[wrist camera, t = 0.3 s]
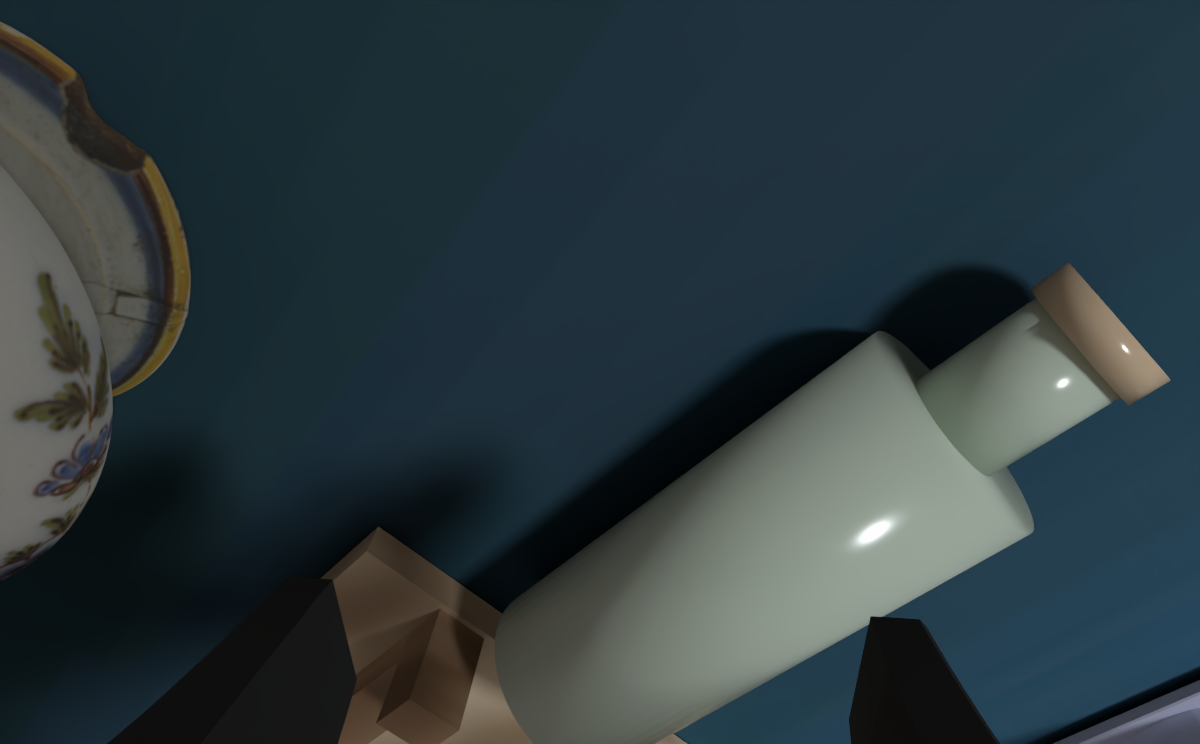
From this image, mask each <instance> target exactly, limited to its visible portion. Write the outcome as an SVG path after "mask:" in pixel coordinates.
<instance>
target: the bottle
mask: <svg viewBox="0 0 1200 744" xmlns="http://www.w3.org/2000/svg"><path fill="white" fill-rule="evenodd" d="M1031 291H1032V293H1033V294H1034V295H1035V297H1036V298H1035V299H1033V300H1032V301H1030V302H1029V303H1027V304H1026V305H1024V306H1023V307H1022V308H1020V309H1019V310H1017V311H1016V312H1014V313H1013V314H1011V315H1010V316H1009V317H1007V318H1006V319H1004V320H1003V321H1001V322H1000V323H998V324H997V325H996V326H994V327H993V328H991V329H990V330H988V331H987V332H985V333H984V334H983V335H981V336H980V337H978V338H977V339H975V340H974V341H972V342H971V343H970V344H968V345H967V346H965V347H964V348H962V349H961V350H959V351H958V352H957V353H955V354H954V355H952V356H951V357H949V358H948V359H947V360H945V361H944V362H942V363H941V364H939V365H938V366H936V367H935V368H934V369H932V370H931V371H930V370H929V369H928V368H927V367H926V366H925V365H924V364H923V363H922V362H921V361H920V360H919V359H918V358H917V357H916V356H915V355H914V354H913V353H912V352H911V351H910V350H909V349H908V348H907V347H906V346H905V345H904V344H903V343H901V342H900V341H899V340H897V339H896V338H895V337H893V336H891V335H890V334H888V333H886V332H883V331H877V332H875V333H874V334H872V335H871V336H870V337H868V338H867V339H866V340H864V341H863V342H862V343H860V344H859V345H858V346H856V347H855V348H854V349H852V350H851V351H850V352H848V353H847V354H845V355H844V356H843V357H841V358H840V359H839V360H837V361H836V362H835V363H833V364H832V365H831V366H829V367H828V368H827V369H825V370H824V371H823V372H821V373H820V374H818V375H817V376H816V377H814V378H813V379H812V380H810V381H809V382H808V383H806V384H805V385H804V386H802V387H801V388H800V389H798V390H797V391H795V392H794V393H793V394H791V395H790V396H789V397H787V398H786V399H785V400H783V401H782V402H781V403H779V404H778V405H777V406H775V407H774V408H773V409H771V410H770V411H768V412H767V413H766V414H764V415H763V416H762V417H760V418H759V419H758V420H756V421H755V422H754V423H752V424H751V425H750V426H748V427H747V428H746V429H744V430H743V431H741V432H740V433H739V434H737V435H736V436H735V437H733V438H732V439H731V440H729V441H728V442H727V443H725V444H724V445H723V446H721V447H720V448H719V449H717V450H716V451H714V452H713V453H712V454H710V455H709V456H708V457H706V458H705V459H704V460H702V461H701V462H700V463H698V464H697V465H696V466H694V467H693V468H692V469H690V470H689V471H687V472H686V473H685V474H683V475H682V476H681V477H679V478H678V479H677V480H675V481H674V482H673V483H671V484H670V485H669V486H667V487H666V488H665V489H663V490H662V491H660V492H659V493H658V494H656V495H655V496H654V497H652V498H651V499H650V500H648V501H647V502H646V503H644V504H643V505H642V506H640V507H639V508H638V509H636V510H635V511H633V512H632V513H631V514H629V515H628V516H627V517H625V518H624V519H623V520H621V521H620V522H619V523H617V524H616V525H615V526H613V527H612V528H610V529H609V530H608V531H606V532H605V533H604V534H602V535H601V536H600V537H598V538H597V539H596V540H594V541H593V542H592V543H590V544H589V545H588V546H586V547H585V548H583V549H582V550H581V551H579V552H578V553H577V554H575V555H574V556H573V557H571V558H570V559H569V560H567V561H566V562H565V563H563V564H562V565H561V566H559V567H558V568H556V569H555V570H554V571H552V572H551V573H550V574H548V575H547V576H546V577H544V578H543V579H542V580H540V581H539V582H538V583H536V584H535V585H534V586H532V587H531V588H529V589H528V590H527V591H525V592H524V593H523V594H521V595H520V596H519V597H517V598H516V599H515V600H514V601H512V602H511V603H510V604H509V605H508V607H507V608H506V609H505V610H504V612H503V614H502V616H501V618H500V621H499V624H498V626H497V631H496V636H495V663H496V669H497V675H498V678H499V682H500V686H501V689H502V692H503V694H504V697H505V700H506V702H507V704H508V706H509V708H510V710H511V712H512V714H513V716H514V717H515V719H516V721H517V723H518V724H519V726H520V727H521V728H522V730H523V731H524V733H525V734H526V735H527V736H528V738H529V739H530V740H531V741H532V742H533V743H534V744H656V743H658V742H659V741H661V740H663V739H665V738H667V737H668V736H670V735H672V734H674V733H676V732H677V731H679V730H681V729H683V728H684V727H686V726H688V725H690V724H692V723H693V722H695V721H697V720H699V719H701V718H702V717H704V716H706V715H708V714H709V713H711V712H713V711H715V710H717V709H718V708H720V707H722V706H724V705H726V704H727V703H729V702H731V701H733V700H735V699H736V698H738V697H740V696H742V695H743V694H745V693H747V692H749V691H751V690H752V689H754V688H756V687H758V686H760V685H761V684H763V683H765V682H767V681H768V680H770V679H772V678H774V677H776V676H777V675H779V674H781V673H783V672H785V671H786V670H788V669H790V668H792V667H794V666H795V665H797V664H799V663H801V662H802V661H804V660H806V659H808V658H810V657H811V656H813V655H815V654H817V653H819V652H820V651H822V650H824V649H826V648H827V647H829V646H831V645H833V644H835V643H836V642H838V641H840V640H842V639H844V638H845V637H847V636H849V635H851V634H853V633H854V632H856V631H858V630H860V629H861V628H863V627H865V626H867V625H869V622H870V617H871V616H875V617H883V616H885V615H886V614H888V613H890V612H892V611H894V610H895V609H897V608H899V607H901V606H903V605H904V604H906V603H908V602H910V601H912V600H913V599H915V598H917V597H919V596H920V595H922V594H924V593H926V592H928V591H929V590H931V589H933V588H935V587H937V586H938V585H940V584H942V583H944V582H945V581H947V580H949V579H951V578H953V577H954V576H956V575H958V574H960V573H962V572H963V571H965V570H967V569H969V568H970V567H972V566H974V565H976V564H978V563H979V562H981V561H983V560H985V559H987V558H988V557H990V556H992V555H994V554H996V553H997V552H999V551H1001V550H1003V549H1004V548H1006V547H1008V546H1010V545H1012V544H1013V543H1015V542H1017V541H1019V540H1021V539H1022V538H1024V537H1026V536H1028V535H1029V534H1031V533H1032V532H1033V530H1034V524H1033V519H1032V515H1031V513H1030V510H1029V507H1028V505H1027V503H1026V501H1025V499H1024V497H1023V495H1022V493H1021V491H1020V489H1019V487H1018V485H1017V484H1016V482H1015V480H1014V478H1013V477H1012V475H1011V473H1010V472H1009V470H1008V468H1007V466H1008V465H1010V464H1012V463H1013V462H1015V461H1017V460H1018V459H1020V458H1021V457H1023V456H1025V455H1026V454H1028V453H1030V452H1031V451H1033V450H1035V449H1036V448H1038V447H1040V446H1041V445H1043V444H1045V443H1046V442H1048V441H1050V440H1051V439H1053V438H1054V437H1056V436H1058V435H1059V434H1061V433H1063V432H1064V431H1066V430H1068V429H1069V428H1071V427H1073V426H1074V425H1076V424H1078V423H1079V422H1081V421H1083V420H1084V419H1086V418H1087V417H1089V416H1091V415H1092V414H1094V413H1096V412H1097V411H1099V410H1101V409H1102V408H1104V407H1106V406H1107V405H1109V404H1111V403H1112V402H1114V401H1116V400H1117V399H1119V398H1121V399H1122V400H1123V401H1124V402H1125V403H1126V404H1128V405H1131V404H1132V403H1134V402H1136V401H1137V400H1139V399H1141V398H1142V397H1144V396H1146V395H1147V394H1149V393H1151V392H1152V391H1154V390H1156V389H1157V388H1159V387H1161V386H1162V385H1164V384H1166V383H1167V382H1169V381H1171V380H1170V379H1169V377H1168V376H1167V375H1166V374H1165V373H1164V372H1163V370H1162V369H1161V368H1160V367H1159V366H1158V365H1157V363H1156V362H1155V361H1154V360H1153V359H1152V358H1151V356H1150V355H1149V354H1148V353H1147V352H1146V351H1145V349H1144V348H1143V347H1142V346H1141V345H1140V344H1139V342H1138V341H1137V340H1136V339H1135V338H1134V337H1133V336H1132V334H1131V333H1130V332H1129V331H1128V330H1127V329H1126V327H1125V326H1124V325H1123V324H1122V323H1121V322H1120V321H1119V319H1118V318H1117V317H1116V316H1115V315H1114V314H1113V312H1112V311H1111V310H1110V309H1109V308H1108V307H1107V306H1106V304H1105V303H1104V302H1103V301H1102V300H1101V299H1100V298H1099V296H1098V295H1097V294H1096V293H1095V292H1094V291H1093V290H1092V288H1091V287H1090V286H1089V285H1088V284H1087V283H1086V282H1085V280H1084V279H1083V278H1082V277H1081V276H1080V275H1079V274H1078V273H1077V271H1076V270H1075V269H1074V268H1073V267H1072V266H1071V265H1070V264H1069V263H1066V264H1065V265H1063V266H1062V267H1061V268H1059V269H1058V270H1056V271H1055V272H1053V273H1052V274H1051V275H1049V276H1048V277H1046V278H1045V279H1043V280H1042V281H1041V282H1039V283H1038V284H1036V285H1035V286H1033V287H1032V288H1031Z"/></svg>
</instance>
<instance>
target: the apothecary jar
mask: <svg viewBox="0 0 1200 744" xmlns="http://www.w3.org/2000/svg"><path fill="white" fill-rule="evenodd" d="M190 290H191V267H190V256H189V249H188V244H187V240H186V236H185V232H184V228H183V225H182V221H181V218H180V215H179V211H178V209H177V207H176V205H175V202H174V200H173V197H172V195H171V193H170V191H169V189H168V186H167V184H166V182H165V180H164V178H163V176H162V175H161V173H160V171H159V169H158V167H157V165H156V164H155V162H154V160H153V159H152V157H151V156H150V155H149V154H148V153H147V152H145V151H144V150H142V149H141V148H139V147H137V146H135V145H134V144H133V143H131V142H130V141H129V140H127V139H126V138H125V137H124V136H122V135H121V134H120V133H118V132H117V131H116V130H114V129H113V128H111V127H110V126H108V125H107V124H106V123H105V122H103V121H102V120H101V119H100V118H99V116H98V115H97V114H96V113H95V111H94V110H93V108H92V106H91V105H90V103H89V100H88V97H87V93H86V90H85V87H84V83H83V80H82V78H81V76H80V75H79V74H78V73H77V72H76V71H75V70H74V69H73V68H72V67H70V66H69V65H68V64H66V63H65V62H64V61H63V60H61V59H60V58H59V57H57V56H56V55H55V54H53V53H52V52H51V51H49V50H48V49H46V48H45V47H43V46H42V45H40V44H39V43H37V42H36V41H34V40H33V39H31V38H29V37H28V36H26V35H24V34H23V33H21V32H19V31H17V30H16V29H14V28H12V27H10V26H8V25H6V24H4V23H2V22H0V582H1V581H3V580H5V579H7V578H8V577H10V576H12V575H14V574H15V573H17V572H19V571H20V570H22V569H23V568H25V567H27V566H28V565H30V564H31V563H33V562H34V561H35V560H37V559H38V558H39V557H40V556H42V555H43V554H44V553H46V552H47V551H48V550H49V549H50V548H51V547H52V546H53V545H54V544H55V543H56V542H57V541H58V540H59V539H60V538H61V537H62V536H63V535H64V534H65V533H66V532H67V531H68V530H69V528H70V527H71V526H72V525H73V523H74V522H75V521H76V519H77V518H78V517H79V515H80V514H81V512H82V511H83V509H84V508H85V506H86V504H87V503H88V501H89V499H90V497H91V495H92V493H93V491H94V489H95V487H96V485H97V483H98V480H99V478H100V475H101V472H102V469H103V466H104V463H105V459H106V456H107V452H108V447H109V443H110V437H111V430H112V418H113V404H112V397H113V396H116V395H119V394H121V393H123V392H125V391H127V390H129V389H131V388H133V387H134V386H136V385H138V384H139V383H141V382H142V381H144V380H145V379H146V378H147V377H149V376H150V375H151V374H152V373H154V372H155V371H156V370H157V369H158V368H159V367H160V365H161V364H162V363H163V362H164V361H165V360H166V358H167V357H168V355H169V354H170V352H171V351H172V349H173V348H174V346H175V344H176V342H177V340H178V338H179V336H180V334H181V332H182V329H183V326H184V324H185V320H186V317H187V315H188V311H189V300H190Z"/></svg>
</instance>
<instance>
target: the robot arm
mask: <svg viewBox="0 0 1200 744" xmlns="http://www.w3.org/2000/svg"><path fill="white" fill-rule="evenodd" d="M356 681H357V678H356V674H355V670H354V665H353V661H352V657H351V653H350V649H349V645H348V641H347V636H346V632H345V628H344V624H343V620H342V616H341V612H340V608H339V603H338V599H337V595H336V591H335V587H334V583H333V579H319V578H304V577H289V578H288V579H287V580H286V581H285V582H284V583H283V584H282V585H281V586H279V587H278V588H277V589H276V590H275V591H274V592H273V593H272V594H271V595H270V596H269V597H268V598H267V599H265V600H264V601H263V602H262V603H261V604H260V605H259V606H258V607H257V608H256V609H255V610H254V611H253V612H252V613H251V614H250V615H249V616H248V617H247V618H246V619H245V620H243V621H242V622H241V623H240V624H239V625H238V626H237V627H236V628H235V629H234V630H233V631H232V632H231V633H230V634H229V635H228V636H227V637H226V638H225V639H224V640H222V641H221V642H220V643H219V644H218V645H217V646H216V647H215V648H214V649H213V650H212V651H211V652H210V653H209V654H208V655H207V656H206V657H204V658H203V659H202V660H201V661H200V662H199V663H198V664H197V665H196V666H195V667H194V668H193V669H191V670H190V671H189V672H188V673H187V674H186V675H185V676H184V677H183V678H182V679H181V680H179V681H178V682H177V683H176V684H175V685H174V686H173V687H172V688H171V689H170V690H168V691H167V692H166V693H165V694H164V695H163V696H162V697H161V698H160V699H159V700H158V701H156V702H155V703H154V704H153V705H152V706H151V707H150V708H149V709H147V710H146V711H145V712H144V713H143V714H142V715H141V716H139V717H138V718H137V719H136V720H135V721H133V722H132V723H131V724H130V725H129V726H128V727H126V728H125V729H124V730H123V731H122V732H121V733H119V734H118V735H117V736H116V737H115V738H113V739H112V740H111V741H110V742H109V743H108V744H338V741H339V738H340V735H341V732H342V729H343V726H344V723H345V719H346V716H347V712H348V709H349V706H350V702H351V699H352V695H353V692H354V688H355V685H356ZM849 724H850V735H851V744H1000V743H999V741H998V740H997V739H996V737H995V736H994V734H993V733H992V731H991V730H990V728H989V727H988V725H987V724H986V722H985V721H984V719H983V718H982V716H981V715H980V713H979V711H978V710H977V708H976V707H975V705H974V704H973V702H972V701H971V699H970V697H969V696H968V694H967V693H966V691H965V690H964V688H963V687H962V685H961V683H960V682H959V680H958V679H957V677H956V675H955V674H954V672H953V670H952V669H951V667H950V666H949V664H948V662H947V661H946V659H945V657H944V656H943V654H942V652H941V651H940V649H939V647H938V646H937V644H936V642H935V641H934V639H933V637H932V635H931V634H930V632H929V630H928V628H927V627H926V626H925V625H924V624H923V623H922V622H921V621H920V620H919V619H904V618H890V617H875V616H871V617H870V622H869V627H868V631H867V636H866V641H865V646H864V650H863V655H862V660H861V665H860V669H859V674H858V679H857V684H856V688H855V693H854V698H853V703H852V707H851V712H850V717H849ZM1053 744H1200V680H1198V681H1196V682H1193V683H1191V684H1189V685H1186V686H1184V687H1182V688H1180V689H1177V690H1175V691H1173V692H1170V693H1168V694H1166V695H1163V696H1161V697H1159V698H1157V699H1154V700H1152V701H1150V702H1147V703H1145V704H1143V705H1140V706H1138V707H1136V708H1134V709H1131V710H1129V711H1127V712H1124V713H1122V714H1120V715H1117V716H1115V717H1113V718H1111V719H1108V720H1106V721H1104V722H1101V723H1099V724H1097V725H1094V726H1092V727H1090V728H1088V729H1085V730H1083V731H1081V732H1078V733H1076V734H1074V735H1071V736H1069V737H1067V738H1065V739H1062V740H1060V741H1058V742H1055V743H1053Z"/></svg>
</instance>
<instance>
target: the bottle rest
mask: <svg viewBox="0 0 1200 744" xmlns="http://www.w3.org/2000/svg"><path fill="white" fill-rule="evenodd" d="M321 579H333V583H334V587H335V591H336V595H337V599H338V603H339V608H340V612H341V616H342V620H343V624H344V628H345V632H346V636H347V641H348V645H349V649H350V653H351V657H352V661H353V665H354V670H355V674H356V678H357V681H356V685H355V688H354V692H353V695H352V699H351V702H350V706H349V709H348V712H347V716H346V719H345V723H344V726H343V729H342V732H341V735H340V738H339V741H338V744H534V743H533V742H532V741H531V740H530V739H529V738H528V736H527V735H526V734H525V733H524V731H523V730H522V728H521V727H520V726H519V724H518V723H517V721H516V719H515V717H514V716H513V714H512V712H511V710H510V708H509V706H508V704H507V702H506V700H505V697H504V694H503V692H502V689H501V686H500V682H499V678H498V675H497V669H496V663H495V636H496V631H497V626H498V624H499V621H500V618H501V616H502V613H501V612H499V611H498V610H496V609H495V608H494V607H492V606H491V605H489V604H488V603H487V602H485V601H484V600H482V599H481V598H479V597H478V596H477V595H475V594H474V593H472V592H471V591H469V590H468V589H467V588H465V587H464V586H462V585H461V584H460V583H458V582H457V581H455V580H454V579H452V578H451V577H450V576H448V575H447V574H445V573H444V572H442V571H441V570H440V569H438V568H437V567H435V566H434V565H432V564H431V563H430V562H428V561H427V560H425V559H424V558H423V557H421V556H420V555H418V554H417V553H415V552H414V551H413V550H411V549H410V548H408V547H407V546H405V545H404V544H403V543H401V542H400V541H398V540H397V539H396V538H394V537H393V536H391V535H390V534H388V533H387V532H386V531H384V530H383V529H381V528H380V527H377V528H376V529H375V530H374V531H373V532H372V533H371V534H369V535H368V536H367V537H366V538H365V539H364V540H363V541H362V542H361V543H359V544H358V545H357V546H356V547H355V548H354V549H353V550H352V551H351V552H349V553H348V554H347V555H346V556H345V557H344V558H343V559H342V560H341V561H339V562H338V563H337V564H336V565H335V566H334V567H333V568H332V569H331V570H329V571H328V572H327V573H326V574H325V575H324V576H323V577H322V578H321ZM656 744H687V743H685V742H684V741H683V740H681V739H680V738H678V737H677V736H676V735H674V734H672V735H670V736H668V737H667V738H665V739H663V740H661V741H659V742H658V743H656Z"/></svg>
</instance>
